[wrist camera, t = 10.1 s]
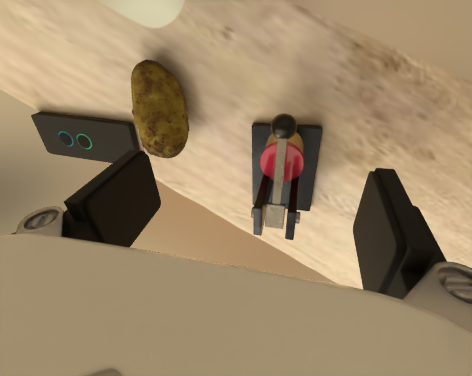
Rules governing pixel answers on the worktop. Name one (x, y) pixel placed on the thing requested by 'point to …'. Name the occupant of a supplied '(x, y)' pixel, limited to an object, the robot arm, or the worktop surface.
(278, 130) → the black ball knob
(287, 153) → the cake
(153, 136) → the potato
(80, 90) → the worktop surface
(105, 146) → the smart home device
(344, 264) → the worktop surface
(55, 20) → the worktop surface
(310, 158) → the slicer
